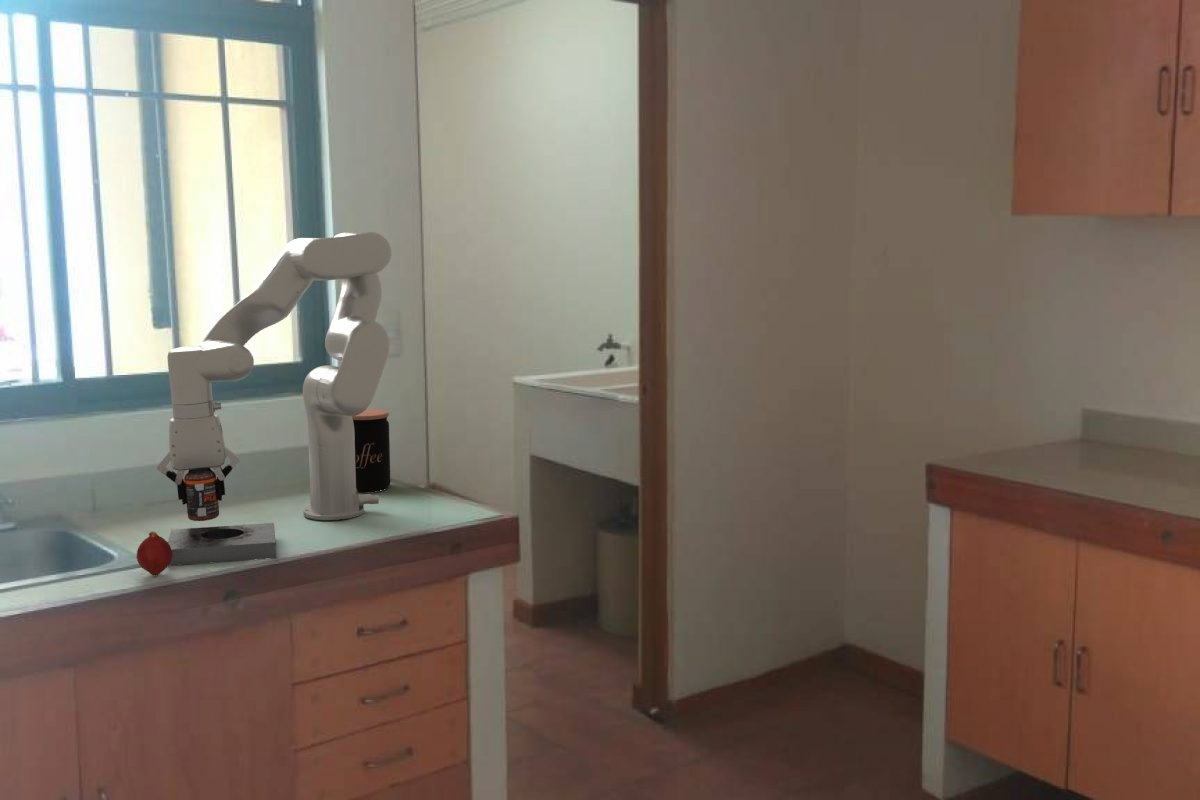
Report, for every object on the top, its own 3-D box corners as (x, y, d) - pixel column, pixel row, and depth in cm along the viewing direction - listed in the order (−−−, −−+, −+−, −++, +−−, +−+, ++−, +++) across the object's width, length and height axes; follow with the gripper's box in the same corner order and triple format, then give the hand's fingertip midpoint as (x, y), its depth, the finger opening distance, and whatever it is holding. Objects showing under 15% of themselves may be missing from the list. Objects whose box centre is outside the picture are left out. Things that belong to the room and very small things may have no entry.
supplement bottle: (210, 522, 229) (204, 465, 227) (182, 522, 230) (176, 465, 228) (225, 514, 235) (220, 458, 233) (198, 513, 236) (192, 458, 234)
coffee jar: (336, 492, 271) (334, 415, 269) (354, 482, 282) (351, 408, 279) (381, 494, 269) (379, 416, 267) (396, 484, 280) (395, 409, 277)
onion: (143, 571, 209) (141, 527, 208) (177, 570, 210) (174, 526, 209) (133, 580, 204) (130, 535, 202) (167, 580, 204) (165, 534, 203)
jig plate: (274, 537, 232) (274, 522, 231) (276, 558, 218) (275, 542, 217) (172, 544, 227) (171, 529, 226) (166, 566, 212) (166, 549, 212)
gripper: (239, 403, 235) (248, 491, 238) (147, 411, 230) (157, 501, 233) (239, 410, 227) (248, 500, 231) (144, 418, 223) (154, 510, 226)
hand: (202, 500), depth 232 cm, fingers closed on supplement bottle, 5 cm apart
